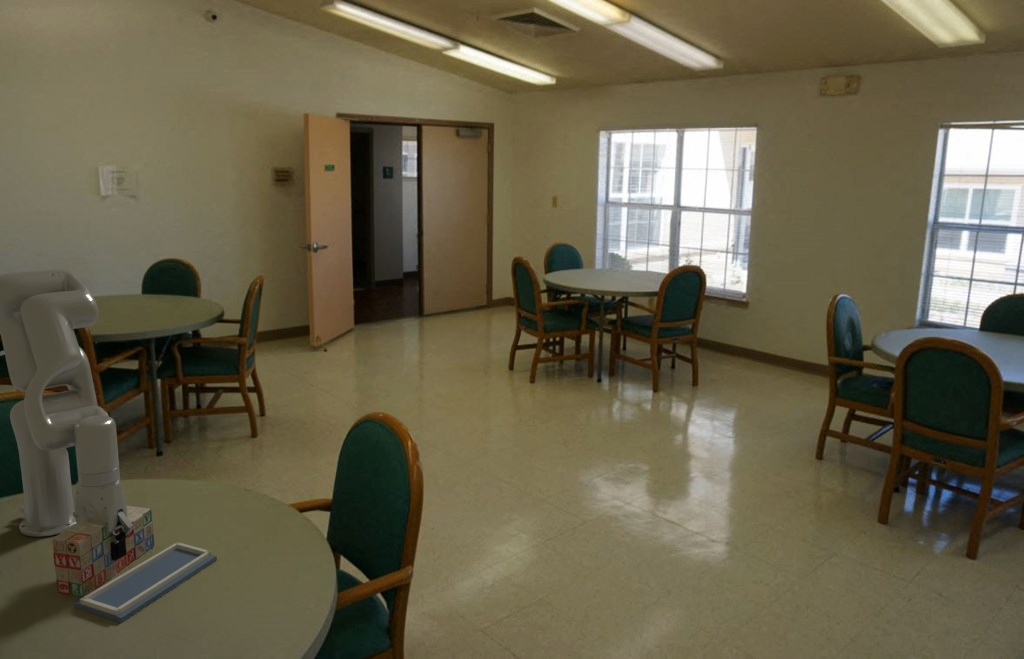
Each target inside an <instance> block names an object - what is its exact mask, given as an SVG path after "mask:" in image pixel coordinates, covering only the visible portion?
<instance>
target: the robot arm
mask: <svg viewBox="0 0 1024 659" xmlns="http://www.w3.org/2000/svg"><path fill="white" fill-rule="evenodd" d="M98 321H99V307H98V303H97V301H96V299H95V296H93V294H92V292H91V291H90V290H89V289H88V287H86V285H84V283H82V282H81V280H79V278H77V277H76V275H74V274H73V273H72V272H70V271H68V270H65V269H53V270H52V269H51V270H38V271H37V270H36V271H23V272H22V271H21V272H12V273H3V274H0V338H1V341H2V346H3V351H4V355H5V356H4V357H5V361H6V366H7V370H8V376H9V378H10V381H11V382H10V383H11V384H12V386H13V387H14V388H15V389H16V390H17V391H18V392H19V391H20V392H25V393H24V399H23V400H21V401H18V402H17V403H16V404H14V405H13V406H12V408H11V409H10V414H9V418H10V424H11V426H12V430H13V434H14V436H15V440H16V443H17V449H18V455H19V465H20V471H21V480H22V490H23V498H24V499H23V500H24V503H23V505H20V506H19V507H18V512H20V513H24V514H23V515H24V519H23V520H22V521H21V522H20V523H19V527H18V528H19V532H20V534H22V535H24V536H27V537H35V538H36V537H37V538H38V537H40V538H42V537H49V536H54V535H59V534H60V533H62V532H65V531H66V530H67V529H69V528H71V527H72V526H74V525H76V524H77V523H79V522H80V521H82V520H83V521H87V522H90V523H93V524H97V525H101V526H105V527H104V533H110V537H111V539H112V541H113V543H111V556H112V560H113V561H116V560H118V559H119V558H121V557H123V556H125V555H126V553H127V552H126V540H125V539H126V538H127V537H128V535H129V534H130V532H131V531H132V530H133V529H134V525H133V524H132V523H131V521H130V520H129V519H128V518H127V506H128V505H127V500H126V495H125V491H124V487H123V483H122V480H121V475H120V473H121V472H120V462H119V450H118V449H119V448H118V436H117V425H116V422H115V419H114V418H113V417H110V416H109V414H108V412H107V411H105V409H104V408H102V407H101V406H99V405H98V401H97V394H96V390H95V384H94V381H93V380H94V379H93V375H92V370H91V365H90V362H89V358H88V356H87V353H86V352H85V351H84V349H83V348H82V347H81V346H79V342H78V340H77V336H76V334H75V329H82V328H88V327H92V326H95V325H96V324H97V322H98ZM61 386H66V387H67V389H68V390H64V391H59V392H53V393H48V394H44V391H45V390H46V389H51V388H57V387H61ZM70 447H74V448H75V458H76V468H77V476H78V477H77V478H78V480H77V481H76V484H75V490H74V498H73V490H72V479H71V468H70V458H69V452H68V450H67V448H70ZM73 499H74V501H73ZM117 524H118V525H117ZM116 525H117V526H116ZM117 529H118V530H119V532H120V533H119V534H118V535H116V533H115V530H117Z"/></svg>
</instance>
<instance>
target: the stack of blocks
mask: <svg viewBox="0 0 1024 659" xmlns="http://www.w3.org/2000/svg"><path fill="white" fill-rule="evenodd" d="M126 506H127V518H128V519H129V520H130V521H131V523H132V524H133V525H134V529H133V530H132V531H131V532H130V534H129V535H128V537H127V538H126V539H125V540H126V552H127V553H126V555H125V556H123V557H121V558H119V559H118V560H116V561H113V560H112V556H111V543H113V541H112V539H111V537H110V533H104V527H105V526H101V525H97V524H93V523H90V522H87V521H83V520H82V521H80V522H79V523H77V524H76V525H74V526H72V527H71V528H69V529H67V530H66V531H65V532H62V533H59V534H56V536H54V537H52V539H51V540H52V541H51V542H52V547H53V548H52V549H53V553H52V554H53V563H54V569H55V578H56V588H57V590H56V591H57V594H62V595H67V596H75V597H78V596H79V597H78V598H83V597H84V596H86V595H88V594H89V593H91V592H93V591H95V590H96V589H98V588H100V587H101V586H103V584H106V582H107V581H108V582H109V580H110V579H112V578H113V577H114V576H116V575H117V574H118V573H119V572H120V571H123V569H125V568H126V567H127V566H128V565H130V564H131V563H132V562H134V561H135V560H137V559H138V558H140V557H141V556H143V555H144V554H145V553H146V552H148V551H149V550H150V549H152V548H153V547H154V546H155V533H154V522H153V513H152V512H153V511H152V509H151V508H146V507H142V506H141V507H140V506H139V507H138V506H134V505H133V506H131V505H126ZM117 525H118V524H117ZM117 525H116V526H117ZM115 533H116V535H118V534H119V533H120V532H119V530H118V529H117V530H115Z"/></svg>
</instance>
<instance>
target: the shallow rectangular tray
mask: <svg viewBox="0 0 1024 659" xmlns="http://www.w3.org/2000/svg"><path fill="white" fill-rule="evenodd" d="M216 561H217V556H216V555H213V554H212V550H207V549H204V548H200V547H196V546H193V545H191V544H186V543H183V542H178V541H177V542H175V543H173V544H171V545H170V546H167V547H166V548H165V549H163V550H162V551H160V552H158V553H156V554H154V555H153V556H151V557H149V558H148V559H146V560H144V561H143V562H141V563H138V564H137V565H136V566H134V567H133V568H130V569H128V570H127V571H126V572H123V573H122V574H120V575H119V576H117V577H115V578H114V579H112V580H110V581H108V582H107V583H104V585H103V584H102V585H101V586H99V587H98V588H97V589H95V590H94V591H92V592H91V593H89V594H88V595H86V596H84V597H80V598H79V600H77V601H75V602H74V607H75V608H76V609H79V610H82V611H85V612H88V613H91V614H94V615H97V616H100V617H104V618H106V619H109V620H112V621H114V622H118V623H124V622H125V621H126V620H128V619H129V618H130V619H131V617H132V616H134V615H136V614H138V612H140V611H142V610H144V609H145V608H147V607H148V606H149V605H151V604H152V603H154V602H155V601H157V600H159V599H160V598H161V597H163V596H165V595H166V594H167V593H169V592H170V591H172V590H174V589H175V588H176V587H178V586H180V585H181V584H182V583H184V582H186V581H187V580H189V579H190V578H192V577H194V576H196V574H198V573H200V572H201V571H203V570H204V569H206V568H207V567H208V566H210V565H212V564H213V563H215V562H216Z"/></svg>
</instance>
